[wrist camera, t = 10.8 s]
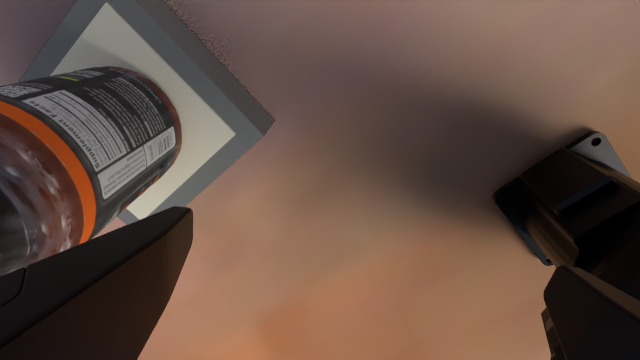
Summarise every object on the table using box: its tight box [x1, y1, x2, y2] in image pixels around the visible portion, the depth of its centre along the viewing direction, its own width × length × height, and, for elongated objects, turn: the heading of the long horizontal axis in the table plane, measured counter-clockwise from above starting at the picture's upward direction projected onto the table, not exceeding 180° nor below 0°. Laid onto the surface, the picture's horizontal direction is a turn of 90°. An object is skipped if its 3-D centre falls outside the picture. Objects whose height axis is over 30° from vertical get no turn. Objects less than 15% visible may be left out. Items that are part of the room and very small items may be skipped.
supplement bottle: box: [0, 66, 182, 276], centre depth 13 cm, size 6×6×11 cm
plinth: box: [18, 0, 275, 225], centre depth 20 cm, size 10×10×3 cm
